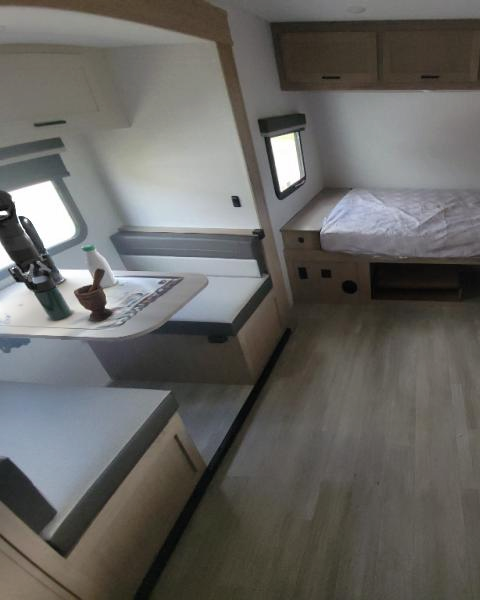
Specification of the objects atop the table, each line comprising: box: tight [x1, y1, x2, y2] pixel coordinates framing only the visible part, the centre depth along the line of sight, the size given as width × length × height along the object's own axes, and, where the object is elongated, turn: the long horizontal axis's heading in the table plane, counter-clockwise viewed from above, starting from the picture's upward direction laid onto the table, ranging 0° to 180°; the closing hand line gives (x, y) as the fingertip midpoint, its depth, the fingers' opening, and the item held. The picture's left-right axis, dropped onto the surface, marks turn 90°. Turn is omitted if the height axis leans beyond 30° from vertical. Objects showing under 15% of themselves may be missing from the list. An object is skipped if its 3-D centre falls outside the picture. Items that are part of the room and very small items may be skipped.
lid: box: [31, 276, 57, 292], centre depth 131 cm, size 7×7×3 cm
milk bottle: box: [81, 244, 117, 289], centre depth 156 cm, size 8×8×20 cm
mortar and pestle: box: [73, 268, 113, 322], centre depth 135 cm, size 12×9×20 cm
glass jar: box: [32, 284, 73, 321], centre depth 135 cm, size 7×7×16 cm
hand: (42, 285), depth 131 cm, fingers closed on lid, 7 cm apart
